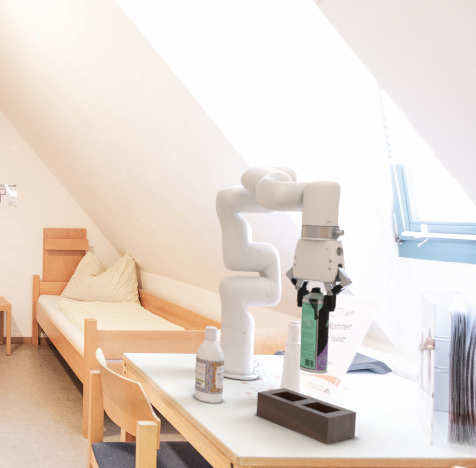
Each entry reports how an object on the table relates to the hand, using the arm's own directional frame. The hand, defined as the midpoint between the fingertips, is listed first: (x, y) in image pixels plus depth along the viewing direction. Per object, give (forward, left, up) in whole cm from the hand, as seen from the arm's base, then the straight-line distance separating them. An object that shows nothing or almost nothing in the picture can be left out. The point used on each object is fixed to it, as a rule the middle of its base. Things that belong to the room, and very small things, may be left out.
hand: (315, 308), depth 127 cm
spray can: (0, 0, -15) cm, 15 cm away
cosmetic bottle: (-14, -15, -29) cm, 36 cm away
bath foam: (+8, -23, -29) cm, 38 cm away
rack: (+1, -1, -29) cm, 29 cm away
